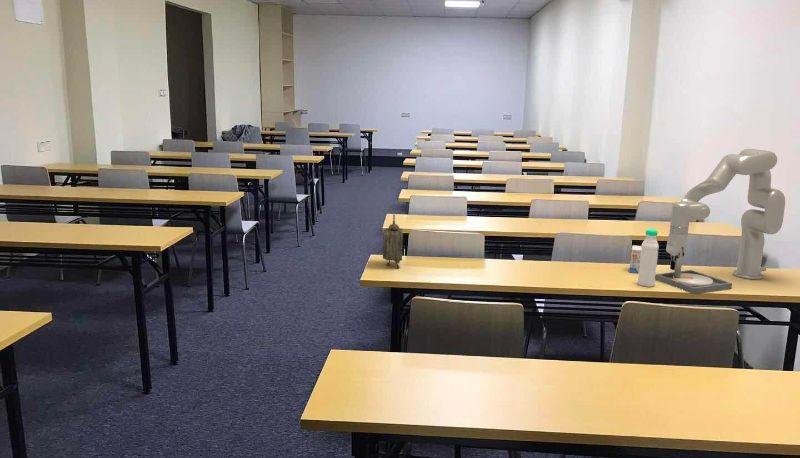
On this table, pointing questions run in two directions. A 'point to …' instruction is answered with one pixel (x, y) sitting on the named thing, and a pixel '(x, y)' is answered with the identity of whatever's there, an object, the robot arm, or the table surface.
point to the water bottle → (648, 259)
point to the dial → (690, 276)
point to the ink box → (635, 259)
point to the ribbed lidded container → (393, 243)
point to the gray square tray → (716, 286)
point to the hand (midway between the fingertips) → (674, 269)
